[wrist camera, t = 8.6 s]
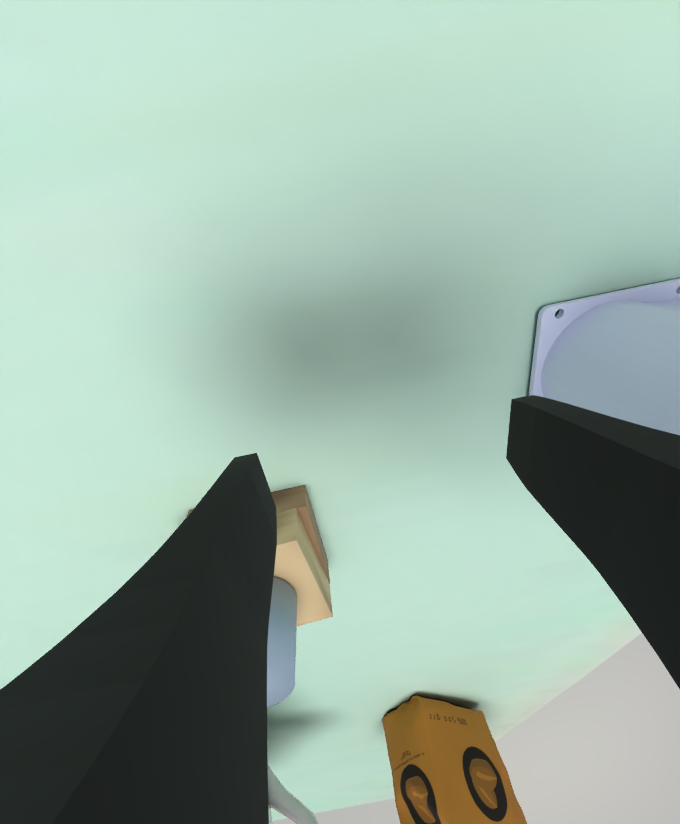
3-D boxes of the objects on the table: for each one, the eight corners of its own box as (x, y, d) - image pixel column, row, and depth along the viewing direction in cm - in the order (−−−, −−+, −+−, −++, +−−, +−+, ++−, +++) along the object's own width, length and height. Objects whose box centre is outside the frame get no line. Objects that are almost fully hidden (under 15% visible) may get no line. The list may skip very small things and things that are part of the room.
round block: (288, 568, 20) (283, 651, 16) (303, 618, 22) (302, 702, 18) (204, 581, 20) (178, 668, 16) (228, 630, 22) (210, 717, 18)
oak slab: (296, 507, 21) (296, 540, 19) (329, 582, 25) (332, 616, 23) (174, 541, 21) (160, 577, 19) (226, 610, 25) (220, 646, 23)
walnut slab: (304, 480, 23) (306, 506, 21) (327, 555, 27) (329, 583, 25) (191, 505, 23) (180, 534, 21) (229, 577, 27) (224, 607, 25)
